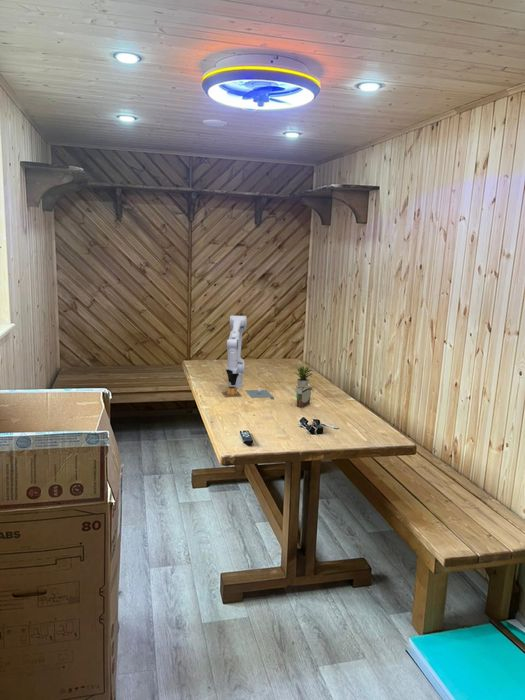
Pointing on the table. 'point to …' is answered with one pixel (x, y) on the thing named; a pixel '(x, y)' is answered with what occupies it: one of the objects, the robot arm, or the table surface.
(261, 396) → the board
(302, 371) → the house plant
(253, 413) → the table surface
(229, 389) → the collar
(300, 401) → the food container
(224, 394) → the stand
